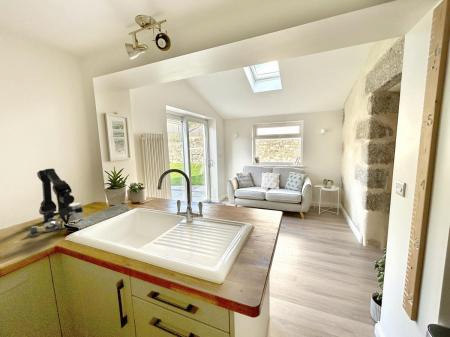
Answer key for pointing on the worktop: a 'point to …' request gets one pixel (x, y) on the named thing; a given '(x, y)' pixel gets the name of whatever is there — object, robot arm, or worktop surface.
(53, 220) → the knob
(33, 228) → the knob
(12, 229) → the worktop surface
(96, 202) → the worktop surface
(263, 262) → the worktop surface
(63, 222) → the knob
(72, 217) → the supplement box
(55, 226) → the tribrach
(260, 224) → the worktop surface
